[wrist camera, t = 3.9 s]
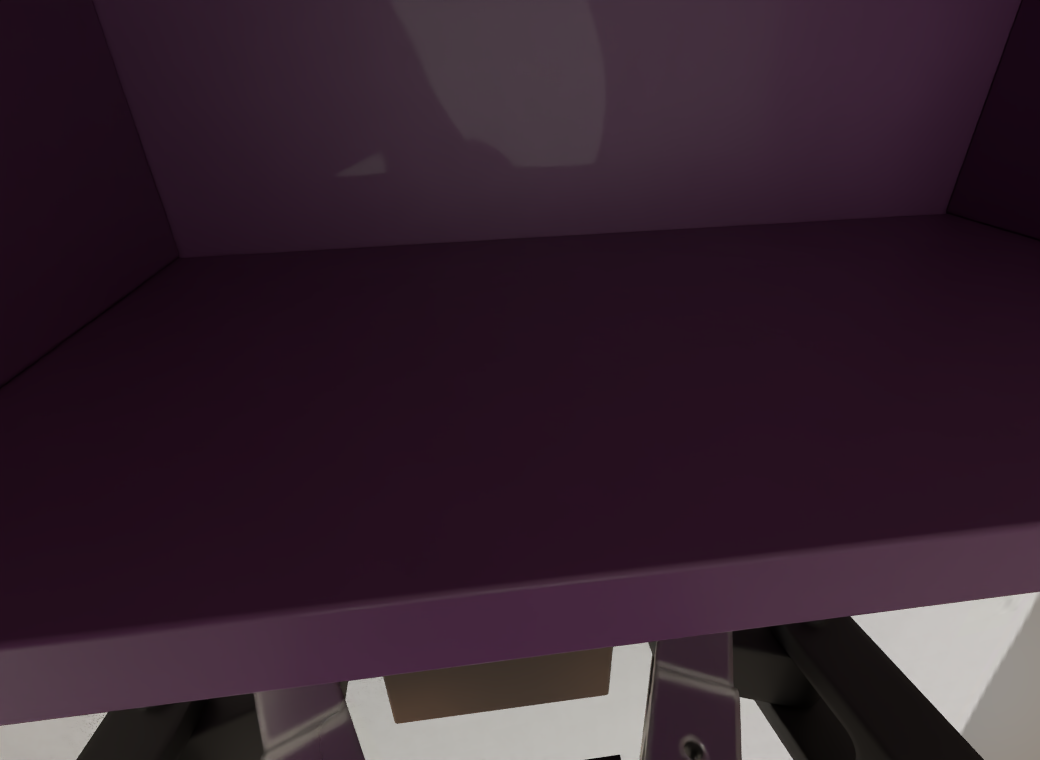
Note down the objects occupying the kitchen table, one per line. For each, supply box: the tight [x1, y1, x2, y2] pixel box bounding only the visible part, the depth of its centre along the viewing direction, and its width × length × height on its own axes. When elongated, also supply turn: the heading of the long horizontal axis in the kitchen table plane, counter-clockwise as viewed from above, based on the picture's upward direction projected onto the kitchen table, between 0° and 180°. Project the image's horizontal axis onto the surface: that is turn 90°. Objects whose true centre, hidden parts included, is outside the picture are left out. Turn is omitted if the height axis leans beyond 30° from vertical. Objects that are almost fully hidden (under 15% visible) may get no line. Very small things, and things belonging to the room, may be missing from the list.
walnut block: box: [383, 647, 613, 724], centre depth 12 cm, size 5×5×5 cm
